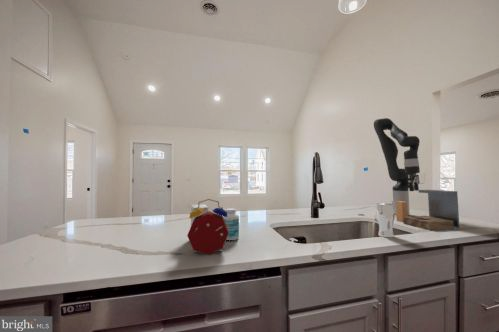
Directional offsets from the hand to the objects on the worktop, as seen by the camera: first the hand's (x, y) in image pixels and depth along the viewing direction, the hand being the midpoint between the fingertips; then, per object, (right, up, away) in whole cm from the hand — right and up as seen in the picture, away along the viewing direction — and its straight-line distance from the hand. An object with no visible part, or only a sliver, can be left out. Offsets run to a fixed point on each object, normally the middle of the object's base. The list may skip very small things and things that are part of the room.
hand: (414, 190), depth 129 cm
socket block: (-8, -17, -18) cm, 26 cm away
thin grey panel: (0, -17, -17) cm, 24 cm away
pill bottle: (-116, -17, -39) cm, 123 cm away
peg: (-12, -18, -6) cm, 23 cm away
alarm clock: (-123, -17, -55) cm, 136 cm away
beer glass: (-43, -17, -36) cm, 58 cm away
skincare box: (-130, -17, -41) cm, 137 cm away
